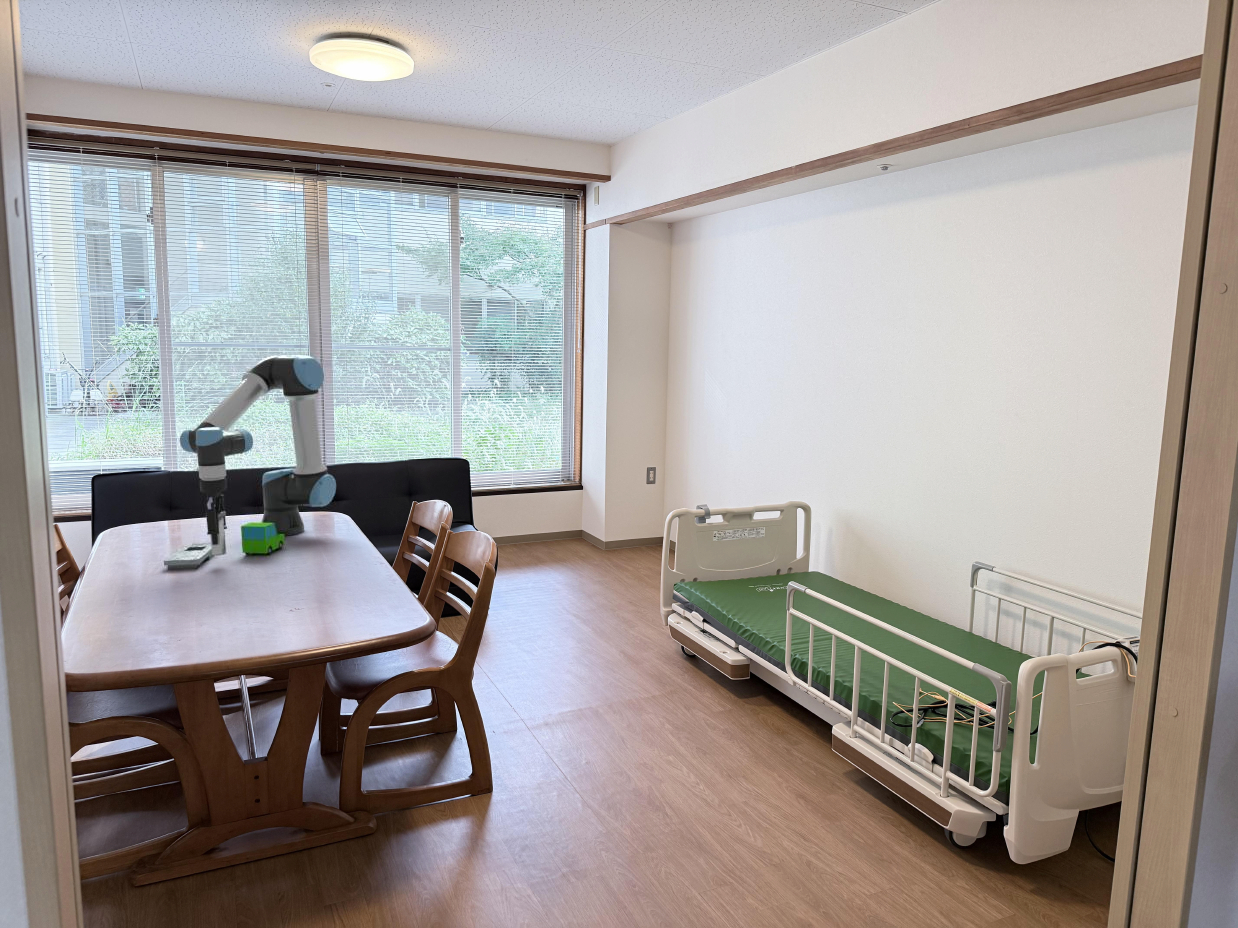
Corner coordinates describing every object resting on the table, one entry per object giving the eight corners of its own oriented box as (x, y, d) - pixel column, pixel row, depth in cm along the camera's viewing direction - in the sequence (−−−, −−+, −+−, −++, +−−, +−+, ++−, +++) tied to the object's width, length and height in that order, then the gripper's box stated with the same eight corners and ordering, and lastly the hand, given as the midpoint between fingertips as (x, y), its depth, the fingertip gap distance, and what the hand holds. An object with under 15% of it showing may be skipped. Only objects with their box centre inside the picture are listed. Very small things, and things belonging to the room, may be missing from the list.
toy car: (289, 547, 292) (287, 518, 290) (269, 556, 279) (267, 526, 277) (260, 546, 293) (258, 518, 291) (239, 556, 280) (237, 526, 278)
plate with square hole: (224, 546, 293) (224, 537, 292) (199, 568, 263) (198, 559, 263) (193, 547, 291) (192, 539, 290) (164, 570, 262) (163, 560, 261)
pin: (231, 550, 270) (227, 510, 267) (226, 555, 264) (223, 514, 262) (212, 551, 268) (208, 511, 266) (207, 556, 263) (203, 515, 261)
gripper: (207, 474, 270) (213, 546, 274) (191, 483, 254) (198, 560, 257) (232, 473, 271) (238, 544, 275) (218, 482, 255) (224, 558, 259)
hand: (219, 552), depth 266 cm, fingers closed on pin, 4 cm apart
